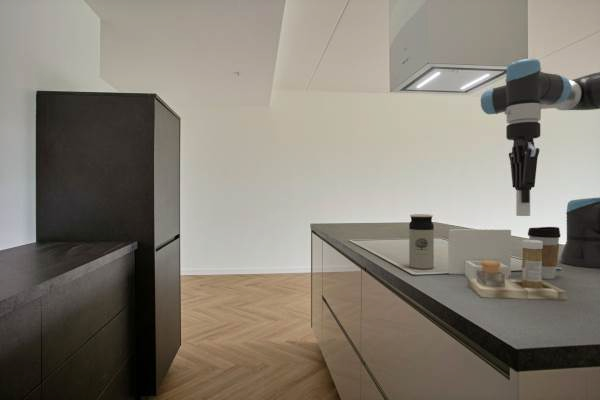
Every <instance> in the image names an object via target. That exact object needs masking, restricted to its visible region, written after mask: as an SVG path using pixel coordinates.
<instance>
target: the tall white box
mask: <svg viewBox="0 0 600 400" xmlns="http://www.w3.org/2000/svg"><path fill="white" fill-rule="evenodd" d="M447 245H448V251H447V252H448V272H447V273H448V274H449V275H464V276H465V277H466V278H467V279H468V278H476V279H477V270H482V265H481V261H482V260H493V261H499V262H500V267H499V272H501V273H503V274H504V275H505V279H510V276H512V229H492V228H491V229H487V228H486V229H483V228H479V229H476V228H475V229H472V228H471V229H470V228H468V229H467V228H466V229H465V228H464V229H463V228H460V229H459V228H458V229H457V228H456V229H454V228H453V229H452V228H449V229H448V244H447Z"/></svg>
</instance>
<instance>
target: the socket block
mask: <svg viewBox="0 0 600 400" xmlns="http://www.w3.org/2000/svg"><path fill="white" fill-rule="evenodd" d="M467 286H468V287H469V288H470V289H471V290H472V291H473V292H475V293H476V295H478V296H479V297H480V298H486V299H487V298H491V299H517V300H518V299H522V300H523V299H525V300H551V301H554V300H556V301H558V300H559V301H566V297H567V296H566V295H567V294H566V291H565V290H563V289H561V288H559V287H557V286H555V285H553V284H550V283H549V282H546V281H544V280H543V279H542V282H541V288H523V287H522V279H517V278H516V279H515V278H514V279H513V278H509V279H505V275H504V274H503V273H501V272H499V274H485V273H483V272H482V270H477V279H476V278H468V277H467Z"/></svg>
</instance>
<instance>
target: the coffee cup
mask: <svg viewBox="0 0 600 400" xmlns="http://www.w3.org/2000/svg"><path fill="white" fill-rule="evenodd" d="M561 235H562V234H561V231H560V227H557V226H543V227H542V226H541V227H528V231H527V236H528V237H529V239H528V240H539V241H542V242H543V248H542V280H543V279H545V280H553V279H556V273H557V264H558V258H559V257H558V256H559V248H560V244H559V243H560V242H559V240H560V238H561Z"/></svg>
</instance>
